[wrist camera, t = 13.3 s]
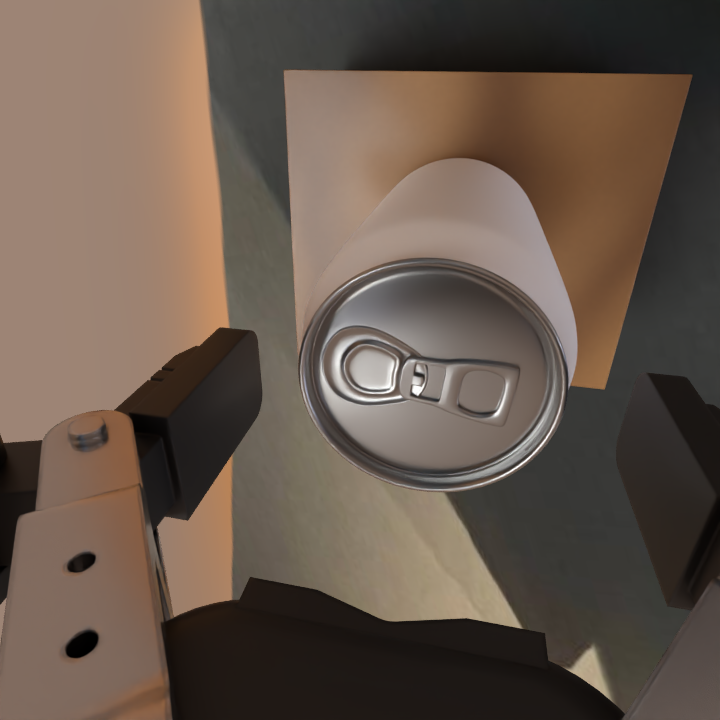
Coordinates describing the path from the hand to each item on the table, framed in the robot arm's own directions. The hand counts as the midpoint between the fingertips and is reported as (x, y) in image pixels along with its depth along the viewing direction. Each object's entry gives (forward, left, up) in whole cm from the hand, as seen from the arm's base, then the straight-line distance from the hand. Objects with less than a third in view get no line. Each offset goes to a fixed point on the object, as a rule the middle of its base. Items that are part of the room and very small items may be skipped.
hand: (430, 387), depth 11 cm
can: (0, 0, -12) cm, 12 cm away
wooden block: (0, 0, -20) cm, 20 cm away
